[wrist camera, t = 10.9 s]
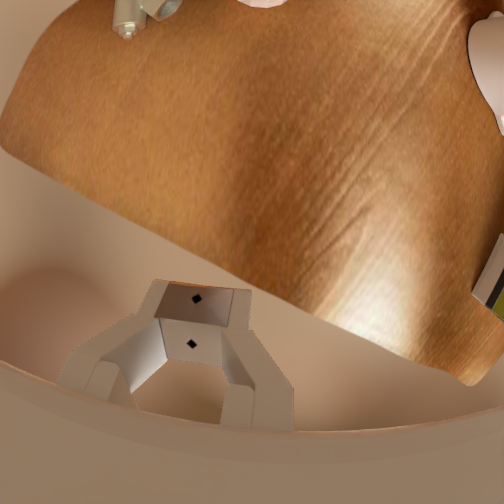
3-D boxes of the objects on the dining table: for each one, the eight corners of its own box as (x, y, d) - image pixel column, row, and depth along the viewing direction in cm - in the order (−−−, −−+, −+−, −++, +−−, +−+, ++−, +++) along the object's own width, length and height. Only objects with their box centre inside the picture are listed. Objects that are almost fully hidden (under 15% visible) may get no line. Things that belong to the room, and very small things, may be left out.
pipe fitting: (138, 49, 23) (187, 2, 21) (122, 41, 20) (177, -12, 18) (95, 14, 21) (139, -30, 19) (77, 5, 18) (125, -43, 15)
